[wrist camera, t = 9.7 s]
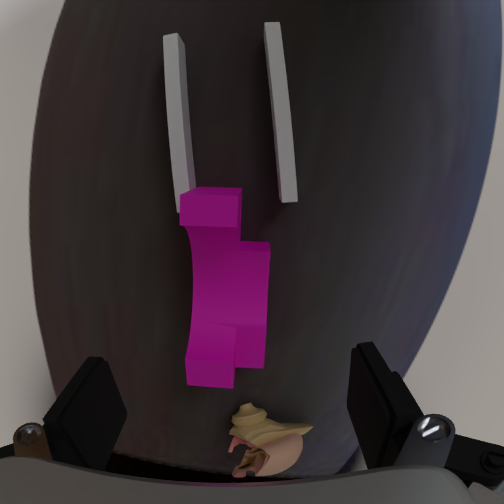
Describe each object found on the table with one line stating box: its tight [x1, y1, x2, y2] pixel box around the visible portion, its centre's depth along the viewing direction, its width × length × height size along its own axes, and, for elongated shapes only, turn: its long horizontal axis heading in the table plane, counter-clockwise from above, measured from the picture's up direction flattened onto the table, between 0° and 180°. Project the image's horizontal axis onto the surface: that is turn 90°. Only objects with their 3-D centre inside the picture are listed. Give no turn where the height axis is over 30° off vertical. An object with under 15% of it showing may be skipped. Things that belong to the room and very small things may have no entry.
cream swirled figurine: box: [228, 403, 313, 477], centre depth 31 cm, size 9×10×10 cm
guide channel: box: [163, 22, 298, 213], centre depth 24 cm, size 9×15×3 cm, turn 5°
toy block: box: [180, 187, 271, 388], centre depth 26 cm, size 15×6×8 cm, turn 178°
